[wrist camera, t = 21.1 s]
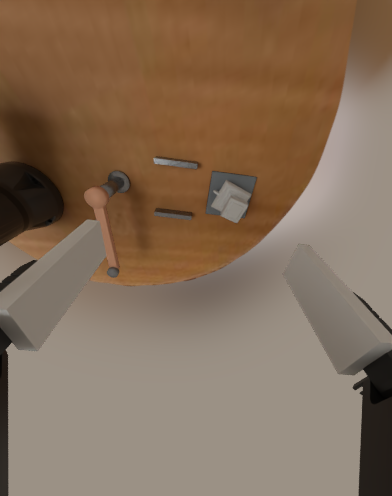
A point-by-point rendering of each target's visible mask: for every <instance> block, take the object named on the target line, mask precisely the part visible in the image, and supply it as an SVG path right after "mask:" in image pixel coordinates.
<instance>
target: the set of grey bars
mask: <svg viewBox="0 0 392 496" xmlns="http://www.w3.org/2000/svg"><path fill="white" fill-rule="evenodd" d="M154 163H155V164H163V165H170V166H177V167H185V168H192V169H197V165H198V162H194V161H187V160H179V159H172V158H165V157H157V156H156V157H155V158H154ZM100 187H102V188H104V189H105V190H106V191H107V192H108V194H109V198H110V197H111V196H113V195H114V194H115V193H116V192H118V193H124V192H126V191H127V190H128V189H129V187H130V180H129V178H128V177H127V175H126V174H125V173H123V172H121V171H113V172H112V173H110V174H109V176H108V182H106V183H104V184H103V185H101V186H100ZM154 216H161V217H170V218H178V219H186V220H191V216H192V212H184V211H176V210H168V209H160V208H156V210H155V212H154Z"/></svg>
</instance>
